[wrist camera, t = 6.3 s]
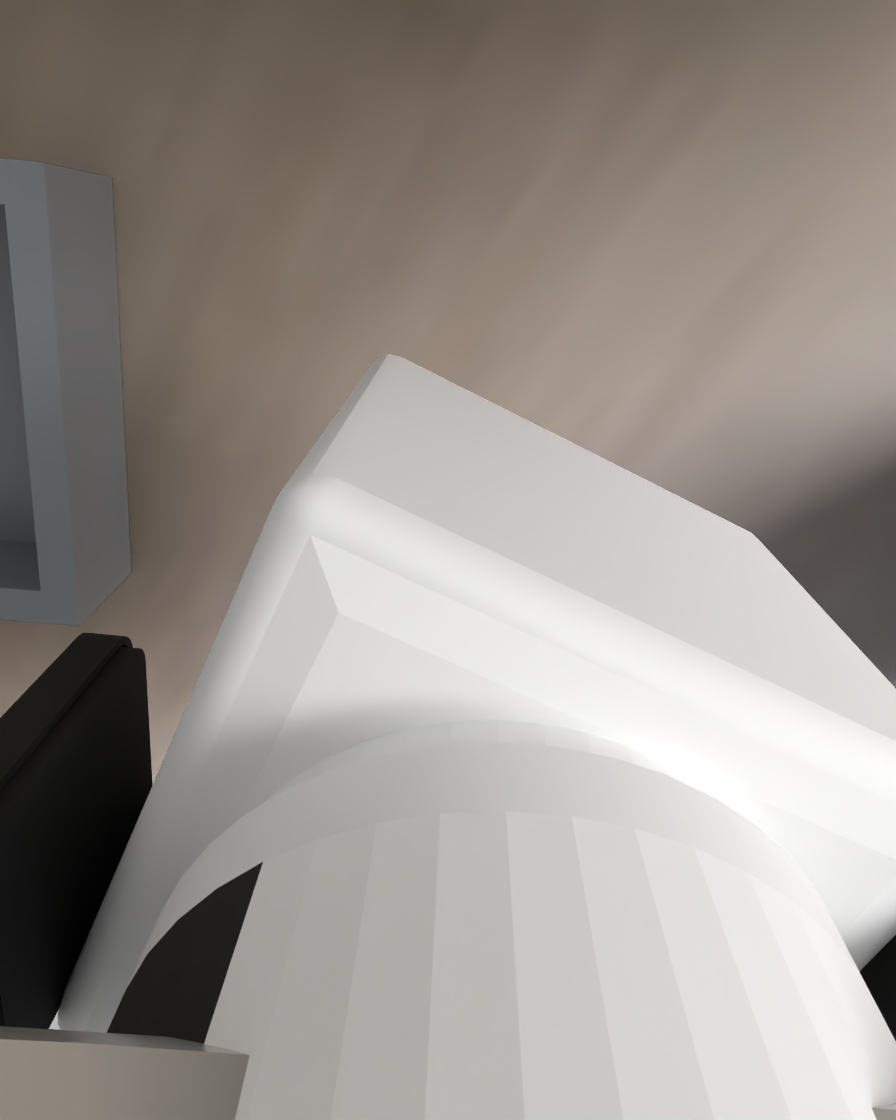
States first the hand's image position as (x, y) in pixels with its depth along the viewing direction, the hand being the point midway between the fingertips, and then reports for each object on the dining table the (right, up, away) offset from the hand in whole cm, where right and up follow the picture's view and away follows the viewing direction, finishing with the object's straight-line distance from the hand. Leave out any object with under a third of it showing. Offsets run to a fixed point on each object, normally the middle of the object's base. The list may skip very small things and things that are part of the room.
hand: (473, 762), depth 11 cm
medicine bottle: (0, +2, +4) cm, 4 cm away
